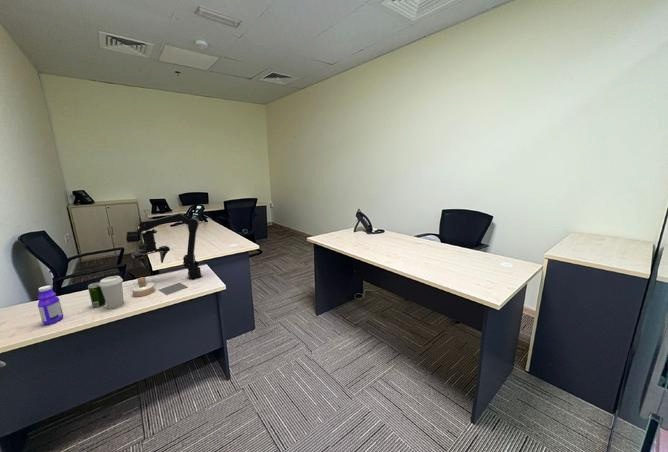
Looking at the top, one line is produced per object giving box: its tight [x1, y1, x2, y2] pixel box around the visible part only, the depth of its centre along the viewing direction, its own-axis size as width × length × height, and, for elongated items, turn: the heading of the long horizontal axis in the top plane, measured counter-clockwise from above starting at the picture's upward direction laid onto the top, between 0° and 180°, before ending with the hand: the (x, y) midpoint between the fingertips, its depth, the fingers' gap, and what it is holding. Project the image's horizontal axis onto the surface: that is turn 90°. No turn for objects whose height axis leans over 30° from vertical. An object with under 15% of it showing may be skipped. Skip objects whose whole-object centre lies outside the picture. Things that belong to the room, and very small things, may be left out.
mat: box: [158, 282, 189, 296], centre depth 155 cm, size 12×12×1 cm
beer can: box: [87, 281, 107, 309], centre depth 137 cm, size 5×5×12 cm
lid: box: [130, 276, 156, 293], centre depth 150 cm, size 11×11×6 cm
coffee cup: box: [99, 275, 125, 310], centre depth 136 cm, size 10×10×15 cm
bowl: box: [132, 286, 155, 297], centre depth 151 cm, size 10×10×4 cm
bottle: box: [37, 285, 64, 325], centre depth 123 cm, size 7×6×17 cm
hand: (153, 265), depth 162 cm, fingers open, 9 cm apart
